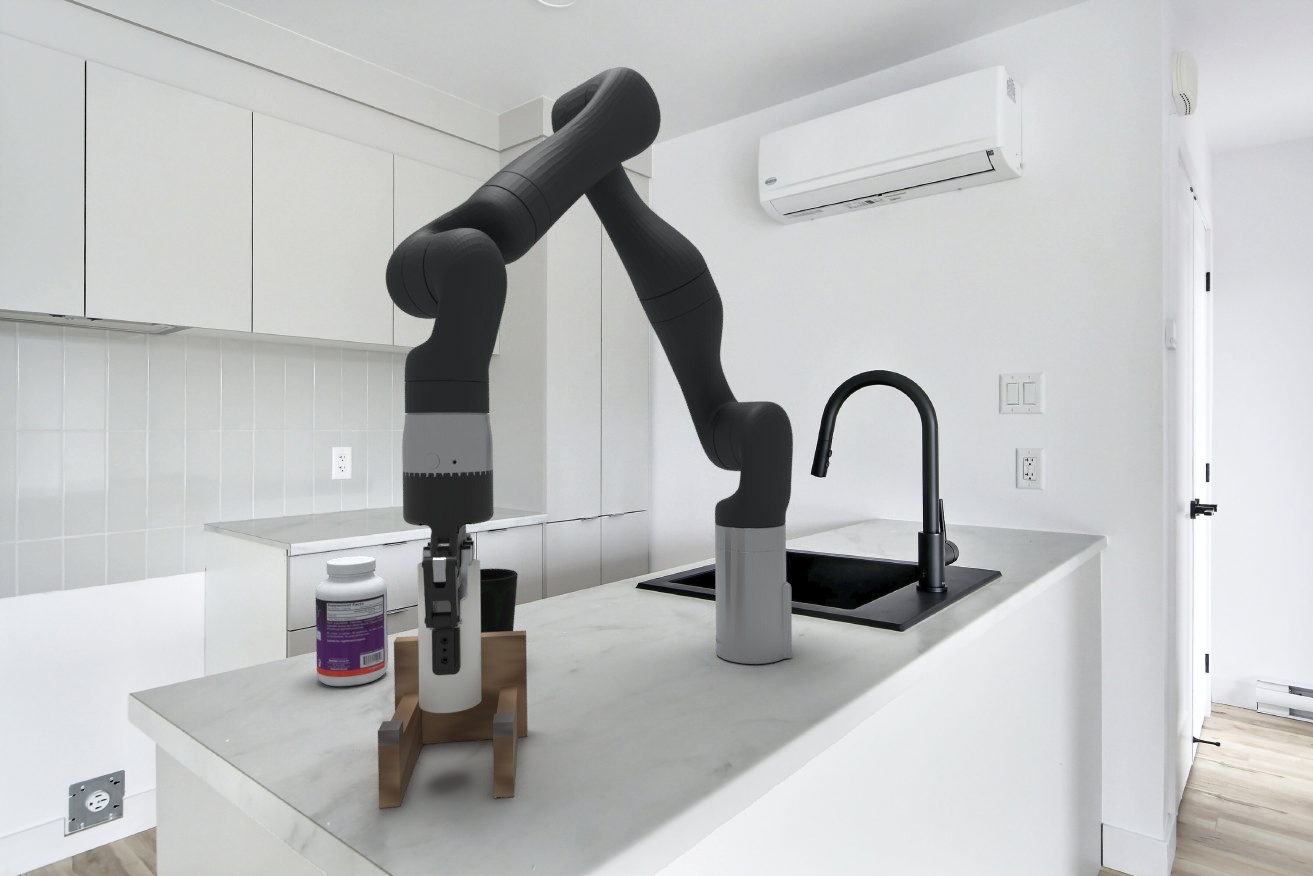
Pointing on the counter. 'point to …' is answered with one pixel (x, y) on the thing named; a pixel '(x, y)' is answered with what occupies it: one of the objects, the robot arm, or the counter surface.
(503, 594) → the cup
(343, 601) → the pill bottle
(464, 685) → the roll
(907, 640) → the counter surface
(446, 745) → the counter surface
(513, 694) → the holder
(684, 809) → the counter surface
